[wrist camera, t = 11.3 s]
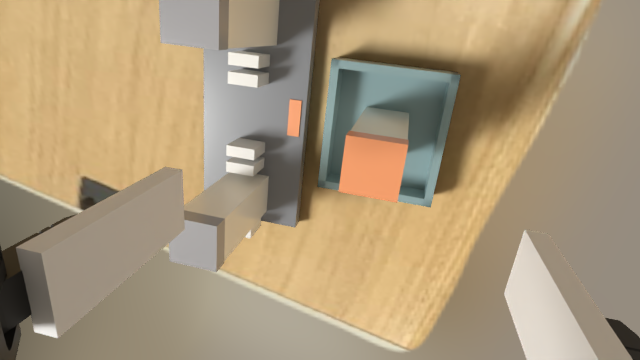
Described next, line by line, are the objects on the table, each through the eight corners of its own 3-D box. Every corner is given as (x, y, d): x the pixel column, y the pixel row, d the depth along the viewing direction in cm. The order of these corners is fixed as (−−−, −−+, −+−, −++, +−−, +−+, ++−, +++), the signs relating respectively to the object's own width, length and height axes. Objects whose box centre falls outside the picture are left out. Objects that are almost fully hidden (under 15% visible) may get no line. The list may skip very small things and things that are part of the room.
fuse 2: (232, 169, 35) (167, 216, 26) (269, 175, 35) (216, 226, 25) (231, 204, 37) (169, 261, 27) (267, 211, 36) (216, 272, 27)
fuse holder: (210, -32, 31) (186, -40, 28) (321, -22, 30) (309, -29, 26) (210, 209, 39) (190, 225, 35) (298, 226, 37) (286, 246, 34)
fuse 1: (236, -8, 30) (157, -27, 21) (280, -4, 30) (219, -21, 20) (235, 40, 31) (160, 42, 22) (277, 45, 31) (218, 50, 22)
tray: (337, 57, 31) (331, 58, 29) (457, 72, 30) (460, 75, 27) (323, 176, 35) (317, 186, 33) (429, 195, 33) (430, 207, 31)
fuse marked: (365, 106, 32) (345, 135, 22) (410, 112, 31) (408, 145, 22) (359, 147, 33) (338, 191, 24) (402, 154, 32) (397, 202, 23)
